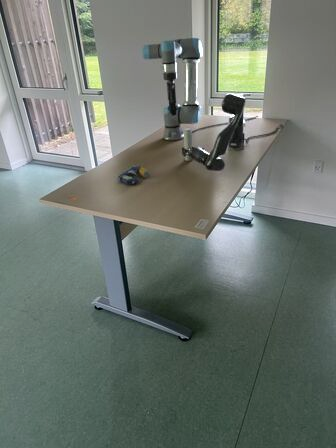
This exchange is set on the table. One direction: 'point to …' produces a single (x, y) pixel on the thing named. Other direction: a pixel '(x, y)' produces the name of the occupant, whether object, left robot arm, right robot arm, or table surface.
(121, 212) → the table surface
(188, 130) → the bottle
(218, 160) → the right robot arm
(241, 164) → the table surface
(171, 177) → the table surface
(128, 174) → the spray gun
